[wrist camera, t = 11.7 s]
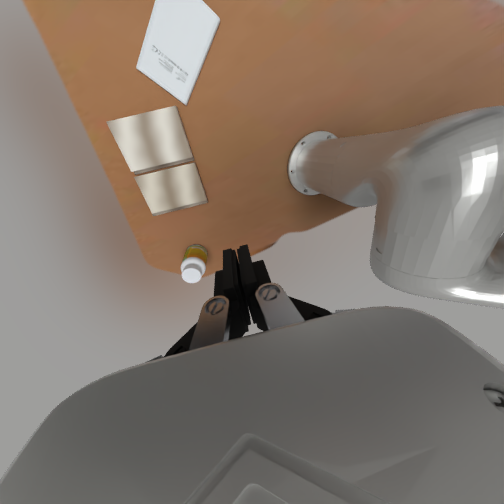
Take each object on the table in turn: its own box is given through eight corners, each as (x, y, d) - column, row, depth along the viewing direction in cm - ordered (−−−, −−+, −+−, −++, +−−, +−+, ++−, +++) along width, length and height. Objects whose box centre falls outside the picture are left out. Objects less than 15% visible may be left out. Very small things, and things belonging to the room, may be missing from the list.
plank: (195, 162, 37) (194, 162, 35) (208, 201, 40) (207, 202, 39) (136, 176, 36) (133, 177, 35) (155, 214, 40) (153, 216, 39)
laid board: (176, 107, 32) (175, 105, 31) (194, 160, 36) (193, 160, 35) (109, 122, 32) (106, 121, 31) (135, 174, 36) (133, 175, 35)
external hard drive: (220, 24, 28) (187, 106, 33) (168, -28, 25) (138, 70, 30) (220, 18, 27) (185, 104, 31) (165, -38, 24) (134, 66, 28)
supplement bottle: (187, 242, 45) (179, 263, 36) (209, 246, 46) (206, 267, 38) (184, 260, 47) (176, 284, 39) (205, 263, 48) (202, 287, 40)
